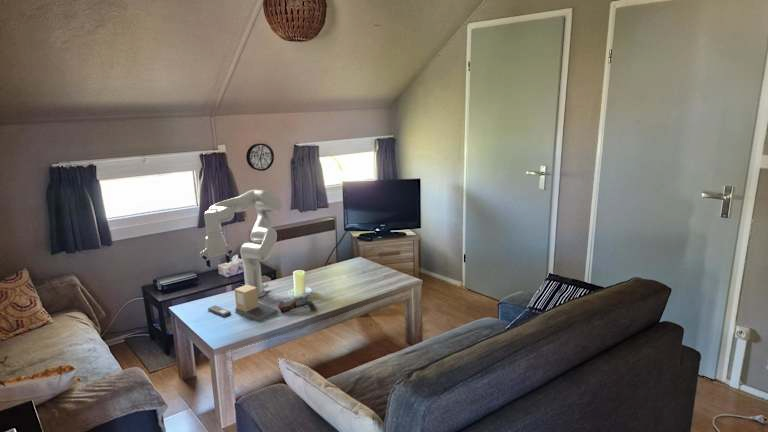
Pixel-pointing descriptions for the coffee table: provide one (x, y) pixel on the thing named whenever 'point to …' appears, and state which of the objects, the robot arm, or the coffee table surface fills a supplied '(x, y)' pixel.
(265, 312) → the podium
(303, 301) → the toy gun
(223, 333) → the coffee table surface
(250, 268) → the robot arm
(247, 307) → the carton
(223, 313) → the remote
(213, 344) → the coffee table surface
